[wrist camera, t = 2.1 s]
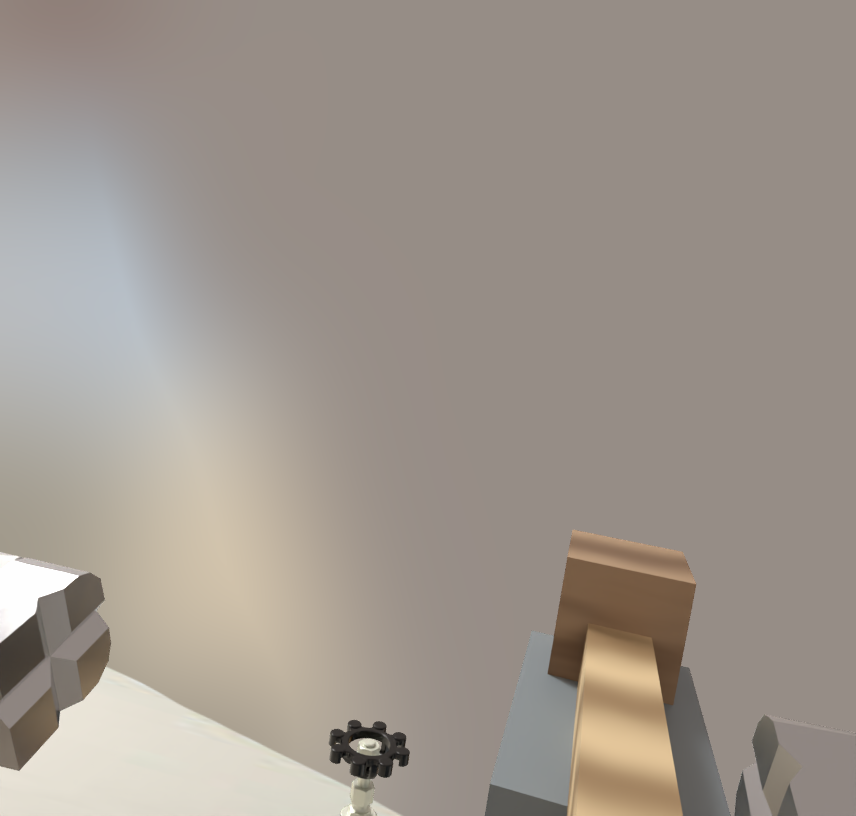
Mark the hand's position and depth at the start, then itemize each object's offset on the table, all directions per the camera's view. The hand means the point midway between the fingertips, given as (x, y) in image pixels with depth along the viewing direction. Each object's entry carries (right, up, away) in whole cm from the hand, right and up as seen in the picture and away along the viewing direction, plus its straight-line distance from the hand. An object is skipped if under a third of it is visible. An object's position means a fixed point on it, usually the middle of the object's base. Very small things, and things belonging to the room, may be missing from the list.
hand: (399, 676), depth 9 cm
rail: (+9, -13, +25) cm, 30 cm away
